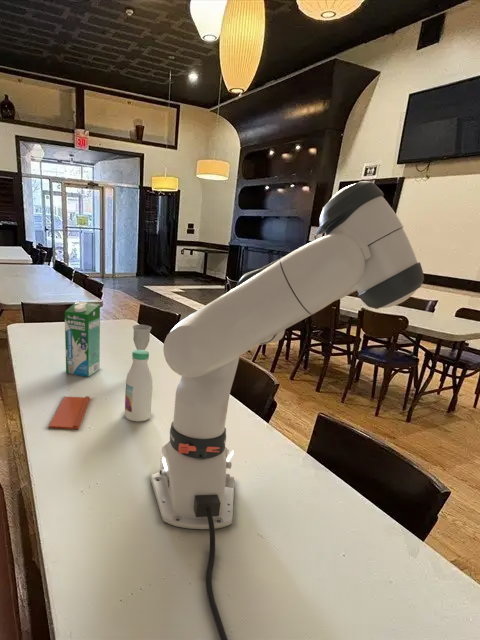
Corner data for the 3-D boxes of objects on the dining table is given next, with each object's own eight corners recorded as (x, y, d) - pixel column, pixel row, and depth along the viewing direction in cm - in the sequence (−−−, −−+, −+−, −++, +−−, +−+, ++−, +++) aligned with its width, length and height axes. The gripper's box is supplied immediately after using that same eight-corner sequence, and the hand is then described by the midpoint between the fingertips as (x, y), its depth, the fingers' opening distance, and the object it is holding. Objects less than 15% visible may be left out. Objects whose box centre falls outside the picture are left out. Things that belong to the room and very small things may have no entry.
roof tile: (78, 429, 112) (78, 425, 112) (48, 428, 111) (48, 424, 111) (90, 399, 130) (90, 396, 130) (64, 398, 130) (64, 395, 130)
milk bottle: (152, 412, 125) (156, 349, 118) (148, 423, 118) (152, 357, 111) (127, 409, 126) (129, 346, 119) (121, 420, 119) (124, 354, 111)
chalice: (128, 371, 157) (129, 324, 151) (144, 369, 160) (147, 324, 153) (134, 377, 151) (136, 329, 144) (151, 376, 154) (154, 329, 147)
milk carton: (65, 372, 150) (64, 304, 141) (78, 365, 158) (77, 300, 149) (88, 377, 148) (88, 308, 139) (99, 369, 156) (100, 303, 147)
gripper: (218, 305, 123) (172, 309, 122) (235, 342, 107) (182, 347, 106) (217, 324, 127) (173, 328, 126) (233, 362, 111) (182, 367, 110)
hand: (177, 337), depth 116 cm, fingers open, 8 cm apart
